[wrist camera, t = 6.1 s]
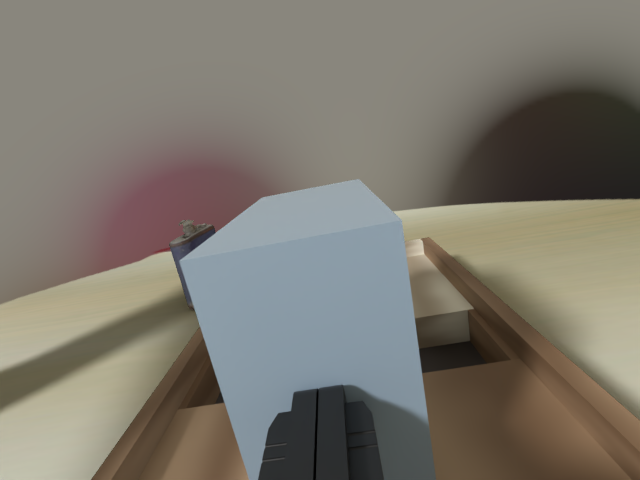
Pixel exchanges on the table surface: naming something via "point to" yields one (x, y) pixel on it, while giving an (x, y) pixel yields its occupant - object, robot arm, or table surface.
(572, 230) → the table surface
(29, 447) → the table surface
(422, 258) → the board
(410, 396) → the block
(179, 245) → the flask
